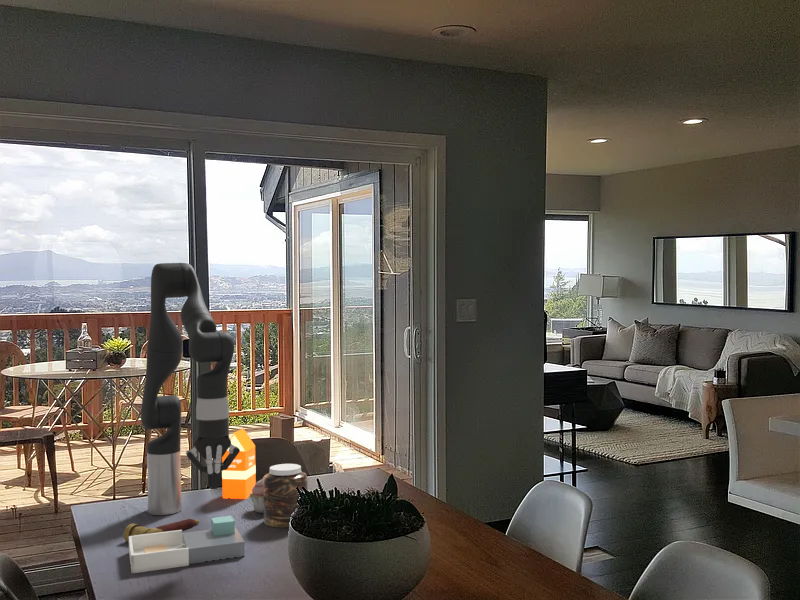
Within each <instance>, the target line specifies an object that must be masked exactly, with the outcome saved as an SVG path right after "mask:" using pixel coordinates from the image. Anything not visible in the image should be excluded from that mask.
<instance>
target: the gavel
mask: <svg viewBox="0 0 800 600" xmlns="http://www.w3.org/2000/svg"><path fill="white" fill-rule="evenodd" d="M199 523H200V520H199V519H195V518H194V519H193V518H187V519H183V520H179V521H175V522H170V523H168V524H163V525H159V526H157V527H152V528H150V527H145V526H142V525H140V524H137V523H130V524H128V525H126V527H125V529H124V531H123V538H124V541H125V542H127V543H129V536H134V535H143V534H151V533H159V532H167V531H176V530H182V531H185V530H187V529H190V527H191V528H193V527H195V526H196V525H197V524H199ZM194 525H195V526H194Z"/></svg>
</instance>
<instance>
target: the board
mask: <svg viewBox="0 0 800 600" xmlns="http://www.w3.org/2000/svg"><path fill="white" fill-rule="evenodd" d="M182 545H183V548H189V565H192V564H193V565H194V564H199V563H206V562H205V561H208V562H213V561H212V560H215V561H220V560H219V559H222V560H227V559H226V558H229V559H235V558H234V557H237V558H243V557H242V556H244V557H245V554H246V553H245V541H244V538H243V537H242V535H241V534H240V532H239V531H238V528H237V527H236V526H235V533H233V534H225V535H217V536H214V534H213V532H212V530H211V529H204V530H195V531H194V530H193V531H187V532H182Z"/></svg>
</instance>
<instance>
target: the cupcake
mask: <svg viewBox="0 0 800 600" xmlns="http://www.w3.org/2000/svg"><path fill="white" fill-rule="evenodd" d="M263 484H264V476H263V477H262V479H260V480H258V481H256V483H255V486H254V487H253V488H252V493H250V496H249V498H250V500H251V502H252V505H253V510H254V512H256V513H259V514H264V503H263Z"/></svg>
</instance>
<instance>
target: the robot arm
mask: <svg viewBox="0 0 800 600" xmlns="http://www.w3.org/2000/svg"><path fill="white" fill-rule="evenodd" d="M150 275H151V276H150V277H151V278H150V319H149V328H148V329H149V331H148V339H147V348H146V349H147V350H146V365H145V366H146V367H145V369H146V371H145V372H146V373H145V380H144V381H145V382H144V388H143V394H142V399H141V407H140V421H141V425H142V427H143V428H144V429H146V430H160V429H166V431H165V432H164V433H163V434H161V435H160V436H158V437H156V438H155V439H152V440H149V442H147V445H146V455H147V456H146V460H147V467H146V468H147V512H148V514H149V515H151V516H152V515H153V516H154V515H155V516H166V515H172V514H176V513H178V512H180V511H181V510H182V467H181V466H182V464H181V463H182V462H181V438H182V437H181V432H182V431H181V429H182V426H181V425H182V404H181V400H180V397H178V396H177V395H175V394H174V395H170V394H169V395H160V396H158V395H159V392H160V390H161V388H162V386H163V385H165V382H166V381H167V380H168V379H169V378H170V377H171V376H172V374H173V373H174V372H175V371H176V369H177V368H178V367H179V365H180V363H181V360H182V354H183V353H182V352H183V345H184V344H183V342H184V339H183V336H182V333H181V332H180V330H179V328H178V327H177V325H176V324H175V322H174V321H173V320H172V318H171V316H170V314H169V312H168V311H167V308H166V300H167V299H168V298H169V299H171V298H172V299H173V298H174V299H175V298H185V297H187V299H186V300H185V302H184V304H183V305H182V307H181V311H180V320H181V324H182V325H183V327H184V329H185V332H186V333H187V337H188V353H189V357H190V358H191V359H192V360H193V361H194V362H196V363H201V364H202V363H214V362H215V365H214V366H213V368H212V369H210V370H208V371H204V372H201V373H200V374H198V375H197V378H196V404H195V405H196V407H195V415H196V416H195V418H196V419H195V421H196V422H195V423H196V424H195V425H196V427H195V428H196V430H195V431H196V439H195V442H194V446H192V447H191V448H190V450H189V449H188V450H186V451H185V455H186V457H187V458H188V459H189V460H190V461H191V463H192V464H193V465H194V466H195V467H196V469H198V470H199V471H200V472H201V473H205V474H206V485H207V487H208V488H209V489H210V490H217V489H218V487H220V486H221V473H222V471H223V470H227V468H228V467H229V466H230V464H231V463H232V462H233V460H234V459H235V457H236V456H237V455H238V453H239V452H240V449H239V448H238V447H237V446H234V445H232V444H231V440H230V439H231V437H230V425H229V423H230V422H229V421H230V417H229V415H230V411H229V400H228V378H229V374H230V373H229V371H230V368H231V364H232V359H233V356H234V352H235V340H234V339H233V336H232V335H231V334H230V333H229V332H226V331H217V325H216V322H215V320H214V318H213V317H212V315H211V313H210V311H209V309H208V308H207V306H206V303H205V299H204V296H203V292H202V289H201V285H200V283H199V279H198V275H197V273H196V270H195V269H194V267H193V266H192V265H191V264H190V263H186V262H160V263H157V264H155V265H154V266H153V267H152V269H151V274H150ZM228 448H229V451H228V452H229V455H228V456H227V457H226V459H225V460H224V461H223V463H222V457H223V456H224V454H225V453H226V451H227V450H228ZM197 452H198V453H197ZM198 454H199V455H201V457H202V458H203V459H204V461H205V465H203V464H202V463H201V461H200V460H199V459H198V458H197V456H198Z"/></svg>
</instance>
